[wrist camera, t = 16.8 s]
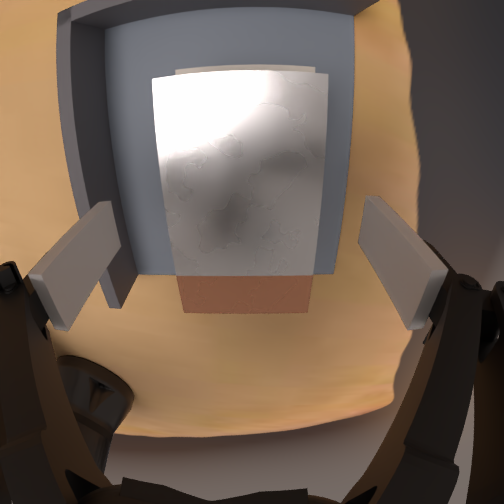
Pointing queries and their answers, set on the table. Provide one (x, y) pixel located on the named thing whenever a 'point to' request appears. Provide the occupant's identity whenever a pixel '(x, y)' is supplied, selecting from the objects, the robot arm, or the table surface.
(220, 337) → the table surface
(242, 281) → the aluminium block
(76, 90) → the corner tray
